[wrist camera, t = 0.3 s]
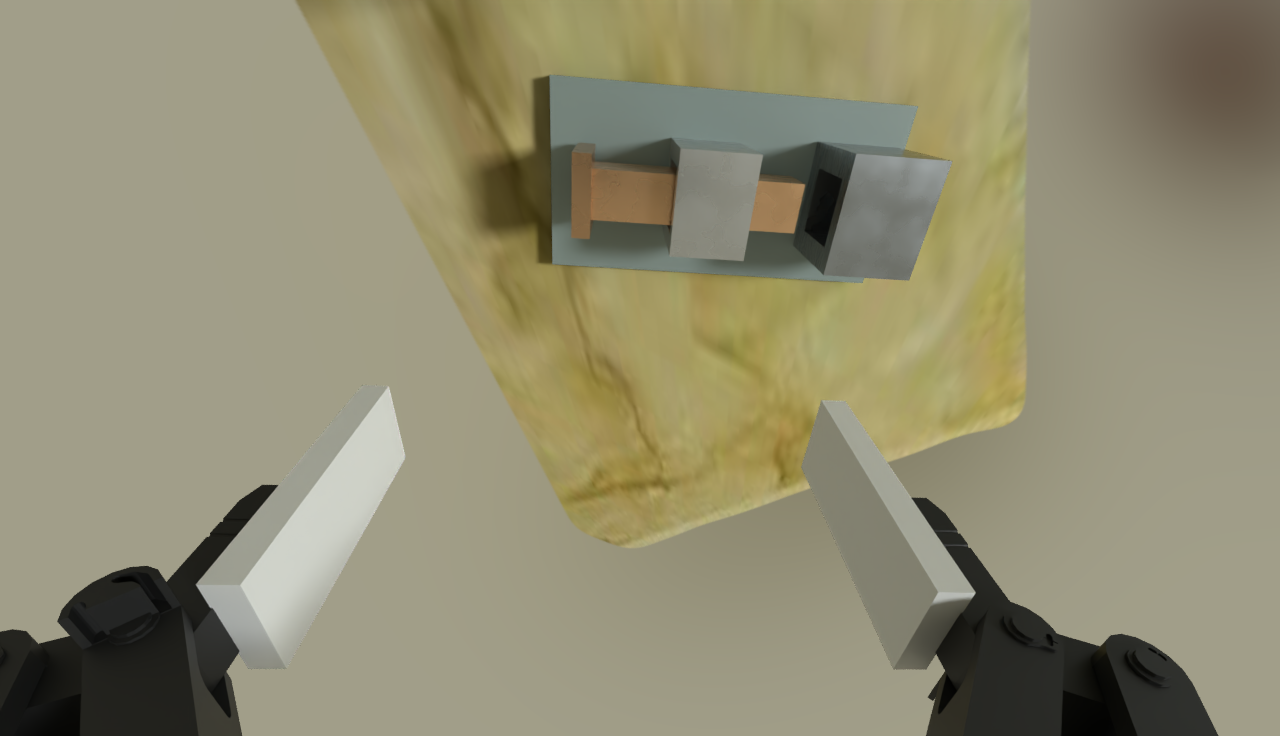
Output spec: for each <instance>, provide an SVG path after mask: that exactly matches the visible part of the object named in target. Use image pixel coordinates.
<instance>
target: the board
mask: <svg viewBox="0 0 1280 736" xmlns="http://www.w3.org/2000/svg"><path fill="white" fill-rule="evenodd" d="M917 108H918V106H909V105H897V104H886V103H874V102H862V101H851V100H839V99H827V98H816V97H804V96H792V95H780V94H769V93H757V92H745V91H734V90H722V89H710V88H699V87H687V86H675V85H664V84H652V83H640V82H628V81H617V80H605V79H593V78H582V77H570V76H558V75H550V134H551V200H552V264H559V265H575V266H591V267H608V268H624V269H641V270H657V271H673V272H690V273H706V274H723V275H739V276H756V277H772V278H788V279H805V280H821V281H838V282H854V283H863V280H864V278H861V277H844V276H828V275H823V274H822V273H821V272H820V271H819V270H818V269H817V268H816V267H815V266H814V265H812V264H811V263H810V262H809V261H808V260H807V259H806V258H805V257H804V256H803V255H802V254H801V253H800V252H799V251H798V250H797V249H796V248H795V247H794V246H793V245H794V241H795V237H796V232H797V228H798V224H799V219H800V215H801V211H802V207H803V202H804V198H805V194H806V189H807V185H808V181H809V176H810V172H811V168H812V163H813V159H814V155H815V151H816V146H817V142H818V141H820V142H832V143H845V144H857V145H870V146H882V147H895V148H901V149H905V146H906V143H907V140H908V137H909V134H910V131H911V127H912V124H913V121H914V118H915V115H916V111H917ZM671 138H683V139H696V140H709V141H722V142H734V143H742V144H744V145H746V146H747V147H749V148H751V149H753V150H755V151H757V152H759V153H761V154H762V155H763V158H762V163H761V169H760V174H771V175H784V176H792V177H793V178H795V179H797V180H799V181H800V182H802V183H804V184H805V188H804V193H803V197H802V201H801V206H800V210H799V214H798V219H797V223H796V227H795V232H794V234H793V233H778V232H764V231H749V234H748V239H747V245H746V250H745V256H744V261H734V260H718V259H702V258H686V257H670V256H669V253H668V250H667V246H666V242H665V238H664V235H663V225H659V224H644V223H629V222H614V221H599V220H593V225H592V230H591V235H590V239H580V238H571V204H572V151H573V149H574V148H575V147H576V145H577V144H578V143H591V144H596V149H595V161H597V162H610V163H624V164H637V165H650V166H664V167H669V158H670V148H671Z"/></svg>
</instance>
